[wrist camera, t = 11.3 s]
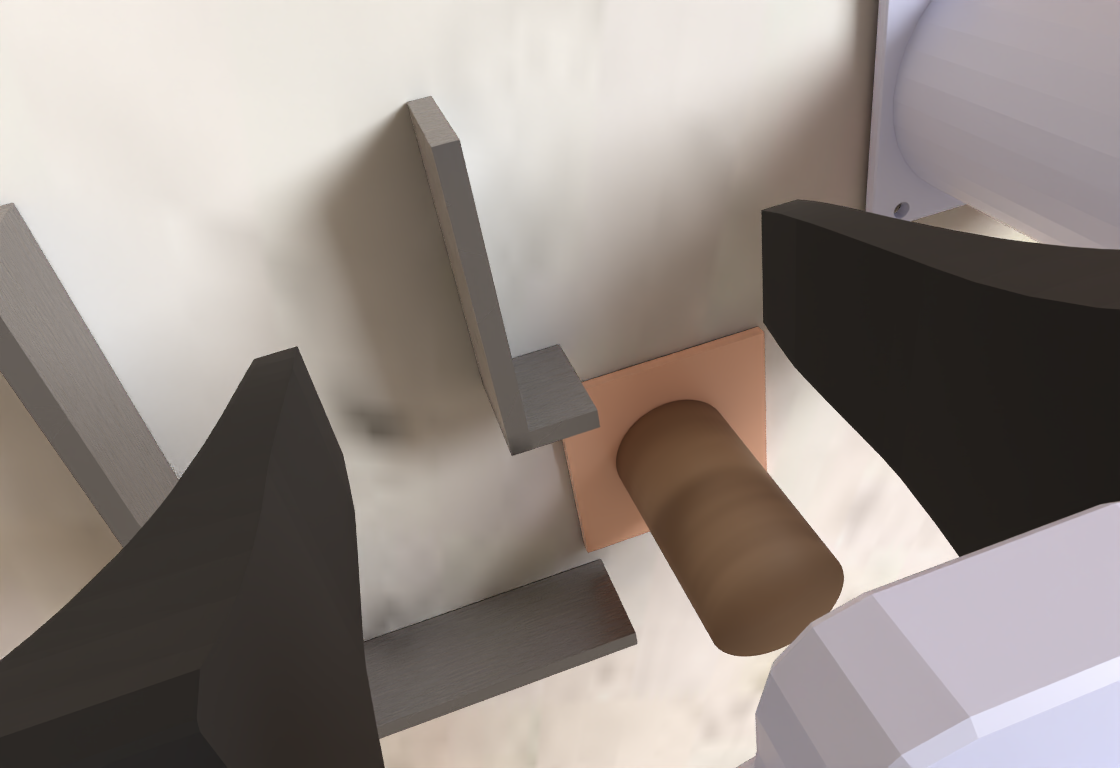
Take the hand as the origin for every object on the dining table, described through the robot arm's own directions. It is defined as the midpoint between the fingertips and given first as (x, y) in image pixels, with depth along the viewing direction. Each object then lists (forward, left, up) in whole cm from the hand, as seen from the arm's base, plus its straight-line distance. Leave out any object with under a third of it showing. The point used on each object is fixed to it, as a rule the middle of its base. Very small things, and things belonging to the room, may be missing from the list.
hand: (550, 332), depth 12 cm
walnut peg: (-5, +12, -10) cm, 16 cm away
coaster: (-5, +12, -10) cm, 16 cm away
